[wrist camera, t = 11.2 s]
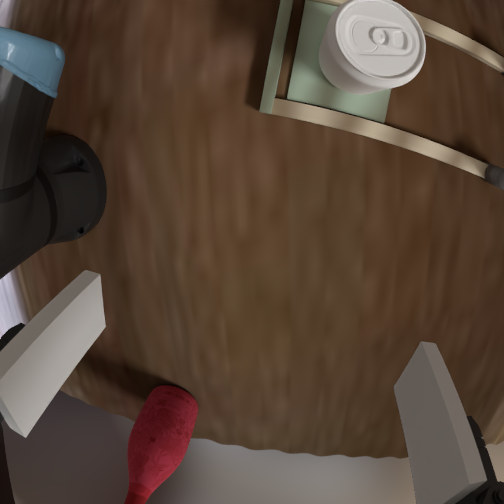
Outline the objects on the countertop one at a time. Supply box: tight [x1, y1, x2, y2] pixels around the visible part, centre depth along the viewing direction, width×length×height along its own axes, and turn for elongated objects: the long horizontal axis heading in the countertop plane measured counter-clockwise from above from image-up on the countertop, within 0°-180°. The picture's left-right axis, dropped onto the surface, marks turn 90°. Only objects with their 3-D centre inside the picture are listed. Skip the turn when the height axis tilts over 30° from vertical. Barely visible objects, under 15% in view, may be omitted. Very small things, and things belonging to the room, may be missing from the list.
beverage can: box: [318, 0, 426, 95], centre depth 23 cm, size 8×8×12 cm
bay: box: [259, 0, 504, 190], centre depth 26 cm, size 30×17×5 cm, turn 81°
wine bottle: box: [124, 385, 198, 504], centre depth 41 cm, size 10×10×30 cm
